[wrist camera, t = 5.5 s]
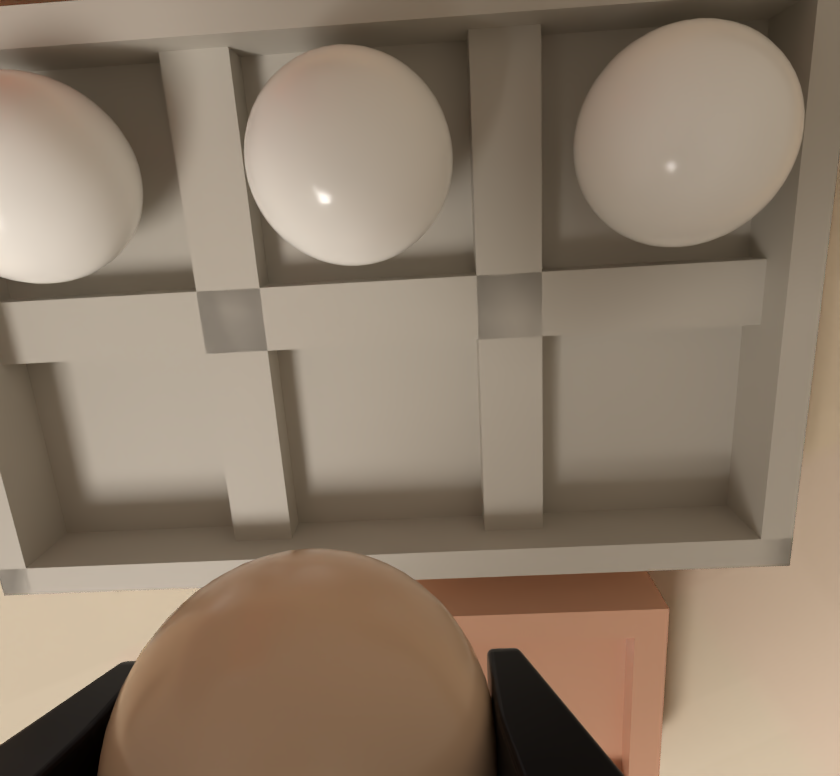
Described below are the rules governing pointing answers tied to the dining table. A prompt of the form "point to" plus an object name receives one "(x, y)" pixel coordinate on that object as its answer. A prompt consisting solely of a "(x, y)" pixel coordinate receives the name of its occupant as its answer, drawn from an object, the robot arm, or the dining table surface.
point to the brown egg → (305, 679)
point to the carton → (406, 320)
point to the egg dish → (579, 648)
